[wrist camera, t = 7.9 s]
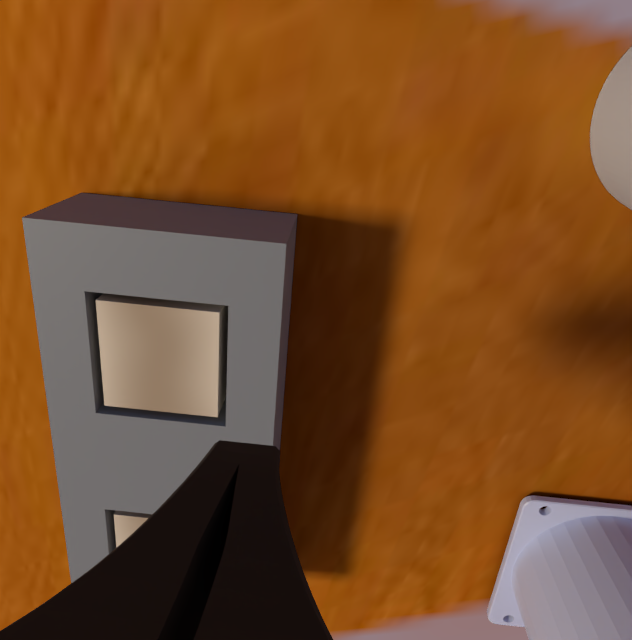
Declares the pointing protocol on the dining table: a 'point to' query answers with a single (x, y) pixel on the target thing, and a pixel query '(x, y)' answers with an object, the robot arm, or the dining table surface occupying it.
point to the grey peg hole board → (161, 283)
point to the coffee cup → (614, 132)
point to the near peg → (163, 354)
